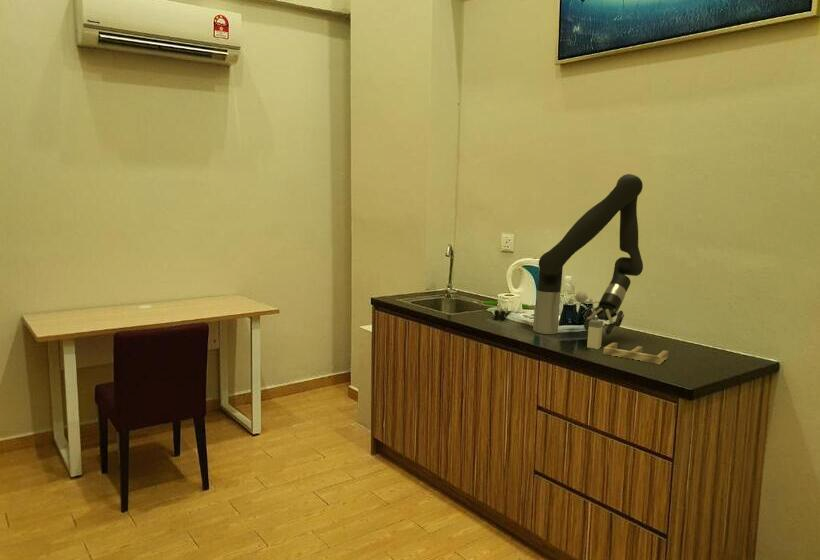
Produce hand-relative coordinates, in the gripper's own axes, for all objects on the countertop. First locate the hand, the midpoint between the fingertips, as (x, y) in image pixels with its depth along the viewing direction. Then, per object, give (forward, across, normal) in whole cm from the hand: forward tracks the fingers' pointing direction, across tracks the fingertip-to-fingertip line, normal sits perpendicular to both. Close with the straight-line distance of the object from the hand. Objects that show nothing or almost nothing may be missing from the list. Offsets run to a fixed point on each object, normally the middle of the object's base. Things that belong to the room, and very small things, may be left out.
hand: (596, 331), depth 240 cm
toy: (-19, -25, +28) cm, 42 cm away
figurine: (-12, -59, +21) cm, 64 cm away
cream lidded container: (+5, 0, +4) cm, 6 cm away
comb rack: (+4, +16, +5) cm, 17 cm away
